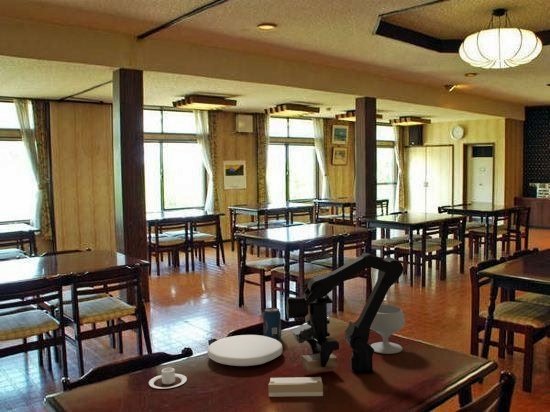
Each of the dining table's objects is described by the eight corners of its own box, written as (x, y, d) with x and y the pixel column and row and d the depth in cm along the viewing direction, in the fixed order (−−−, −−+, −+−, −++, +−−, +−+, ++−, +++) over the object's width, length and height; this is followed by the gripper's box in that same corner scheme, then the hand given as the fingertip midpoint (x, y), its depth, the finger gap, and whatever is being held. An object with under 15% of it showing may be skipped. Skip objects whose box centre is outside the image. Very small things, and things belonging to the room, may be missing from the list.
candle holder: (149, 393, 163) (148, 379, 162) (148, 378, 174) (147, 365, 174) (188, 387, 166) (188, 374, 165) (184, 373, 177) (184, 360, 177)
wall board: (321, 380, 167) (320, 369, 167) (323, 395, 156) (322, 384, 156) (270, 381, 168) (270, 370, 167) (268, 396, 157) (268, 384, 156)
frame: (329, 361, 177) (329, 350, 177) (337, 367, 171) (337, 356, 171) (301, 365, 174) (301, 355, 174) (308, 372, 168) (308, 361, 168)
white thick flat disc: (221, 331, 206) (288, 333, 201) (221, 347, 206) (288, 351, 201) (196, 347, 179) (273, 351, 173) (196, 367, 179) (273, 371, 173)
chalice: (379, 340, 204) (379, 301, 203) (412, 348, 194) (412, 307, 193) (358, 349, 194) (358, 309, 193) (392, 358, 184) (391, 316, 183)
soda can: (262, 337, 211) (261, 308, 210) (279, 335, 213) (278, 306, 212) (266, 343, 204) (265, 312, 203) (283, 341, 206) (282, 310, 205)
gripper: (285, 312, 178) (286, 357, 179) (305, 327, 160) (306, 377, 161) (316, 308, 181) (317, 353, 183) (339, 323, 164) (340, 372, 165)
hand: (319, 363), depth 173 cm, fingers closed on frame, 6 cm apart
